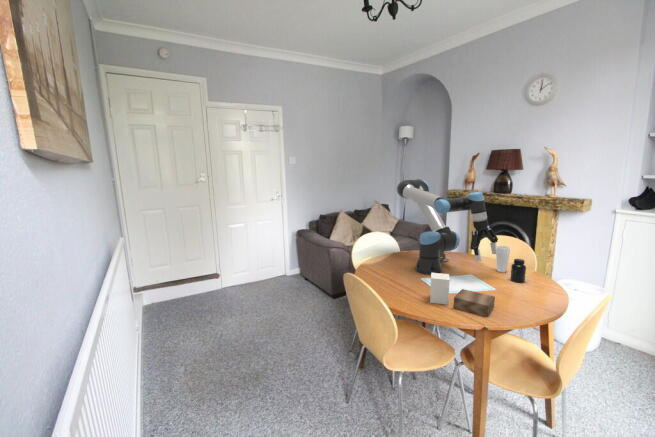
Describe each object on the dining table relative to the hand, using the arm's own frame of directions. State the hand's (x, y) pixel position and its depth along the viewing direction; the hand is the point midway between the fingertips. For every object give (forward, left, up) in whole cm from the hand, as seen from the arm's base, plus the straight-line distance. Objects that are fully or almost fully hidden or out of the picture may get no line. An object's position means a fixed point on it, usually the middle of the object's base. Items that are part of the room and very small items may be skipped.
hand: (487, 257), depth 170 cm
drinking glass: (+4, +20, -13) cm, 24 cm away
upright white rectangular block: (-11, -43, -13) cm, 47 cm away
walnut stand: (+4, -41, -13) cm, 44 cm away
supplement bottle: (+14, +8, -13) cm, 21 cm away
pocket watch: (-31, +19, -13) cm, 38 cm away
